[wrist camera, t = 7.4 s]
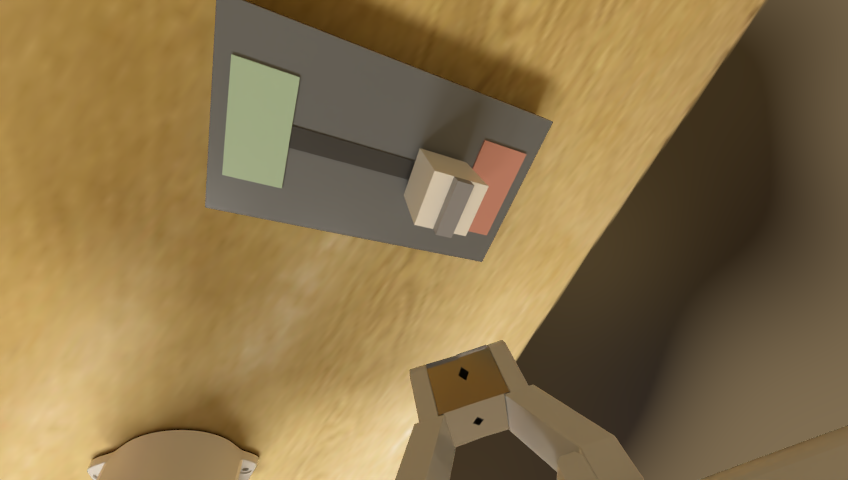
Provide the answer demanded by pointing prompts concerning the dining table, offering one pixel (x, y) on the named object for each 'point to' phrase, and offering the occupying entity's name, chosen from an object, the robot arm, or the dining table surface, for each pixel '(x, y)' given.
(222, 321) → the dining table surface
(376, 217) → the breaker panel
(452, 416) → the robot arm
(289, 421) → the dining table surface
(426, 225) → the handle
